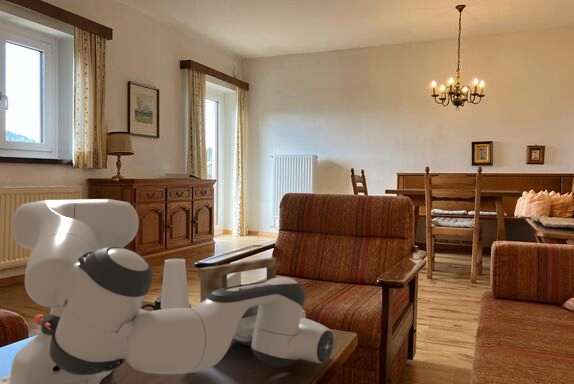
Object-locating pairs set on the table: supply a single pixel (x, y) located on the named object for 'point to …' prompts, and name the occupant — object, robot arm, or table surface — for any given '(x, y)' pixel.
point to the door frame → (217, 275)
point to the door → (233, 280)
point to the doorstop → (249, 312)
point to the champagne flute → (174, 285)
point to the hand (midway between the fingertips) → (246, 316)
